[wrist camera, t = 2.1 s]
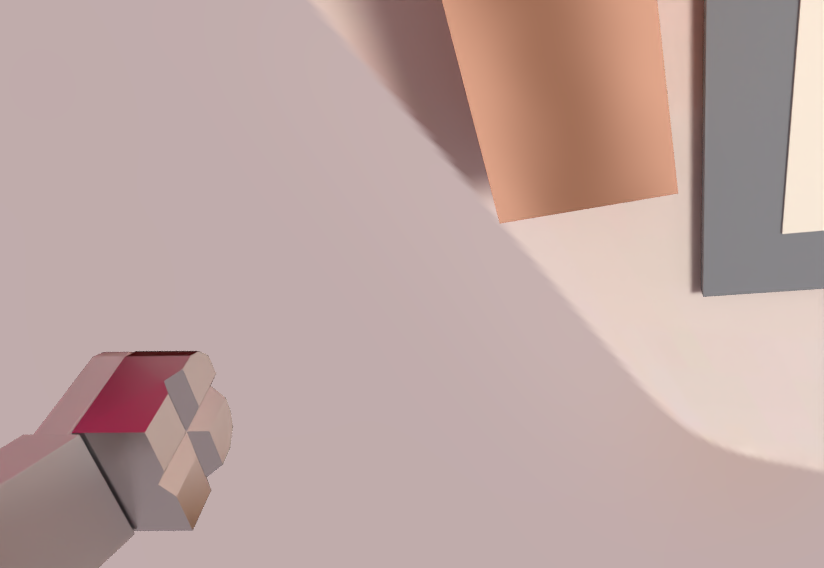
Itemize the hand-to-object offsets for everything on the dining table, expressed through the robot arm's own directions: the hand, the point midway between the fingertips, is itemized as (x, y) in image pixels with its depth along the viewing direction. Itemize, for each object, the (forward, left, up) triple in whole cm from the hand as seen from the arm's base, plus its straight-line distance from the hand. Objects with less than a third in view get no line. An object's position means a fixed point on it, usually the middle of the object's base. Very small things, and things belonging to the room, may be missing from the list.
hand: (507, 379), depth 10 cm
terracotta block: (-1, +2, -22) cm, 22 cm away
